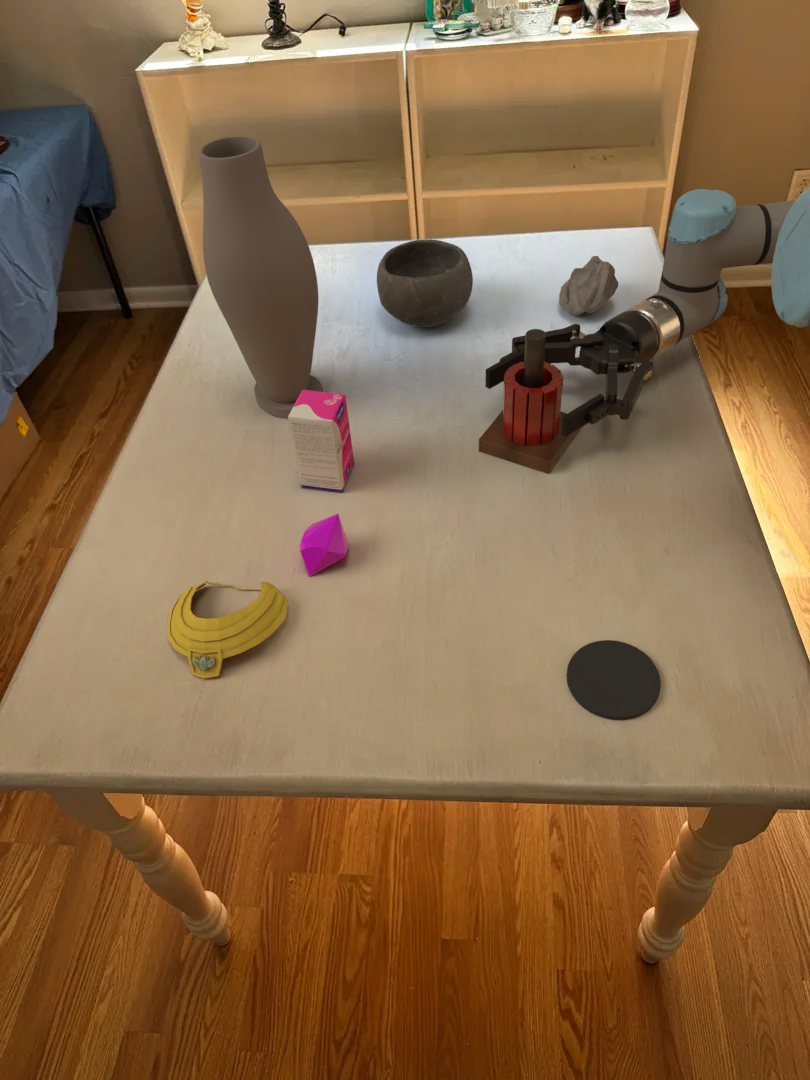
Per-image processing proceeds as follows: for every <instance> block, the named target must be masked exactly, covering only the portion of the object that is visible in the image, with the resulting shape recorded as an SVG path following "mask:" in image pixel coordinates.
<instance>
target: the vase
mask: <svg viewBox="0 0 810 1080" xmlns="http://www.w3.org/2000/svg"><path fill="white" fill-rule="evenodd" d="M262 147H263V146H262V144H261V141H260V140H259V139H258V138H256V137H254V136H251V135H250V136H249V135H227V136H223V137H218V138H216V139H213V140H211V141H208V142H206V143H205V144H203V145H201V147H200V148H199V150H198V158H199V163H200V164H199V165H200V171H201V180H202V203H203V204H202V207H203V209H202V211H203V212H202V213H203V215H202V217H203V218H202V219H203V220H202V253H203V260H204V261H203V263H204V268H205V269H204V270H205V275H206V279H207V281H208V282H207V283H208V285H209V288H210V290H211V293H212V296H213V298H214V300H215V302H216V304H217V306H218V308H219V310H220V312H221V315H222V317H223V319H224V320H225V322H226V324H227V326H228V328H229V330H230V332H231V334H232V336H233V338H234V340H235V342H236V344H237V346H238V348H239V351H240V353H241V354H242V357H243V359H244V361H245V364H246V365H247V367H248V370H249V371H250V373H251V375H252V377H253V379H254V381H255V384H254V387H253V389H254V390H253V391H254V396H255V401H256V403H257V406H258V407H259V408H260V409H261V410H263V411H264V412H265V413H267V414H269V415H271V416H273V417H278V418H283V419H288V416H289V414H290V412H291V410H292V408H293V407H294V405H295V403H296V401H297V399H298V397H299V395H300V394H301V392H302V390H310V391H319V392H324V387H323V385H322V382H320V379H318V378H317V377H315V376H314V375H312V367H313V358H314V349H315V341H316V332H317V324H318V316H319V315H318V314H319V285H318V278H317V272H316V267H315V261H314V259H313V255H312V251H311V249H310V247H309V244H308V241H307V239H306V236H305V234H304V233H303V230H302V228H301V226H300V224H299V223H298V221H297V220H296V218H295V217H294V215H293V214H292V212H291V211H290V210H289V209H288V208H287V206H286V205H285V204H284V203H283V202H282V201H281V200H280V198H279V197H278V196H277V194H276V192H275V191H274V189H273V187H272V183H271V181H270V177H269V173H268V170H267V165H266V161H265V156H264V152H263V148H262Z"/></svg>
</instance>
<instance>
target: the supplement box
mask: <svg viewBox="0 0 810 1080" xmlns="http://www.w3.org/2000/svg"><path fill="white" fill-rule="evenodd" d="M349 420H350V419H349V411H348V405H347V395H346V394H345V393H339V392H329V391H328V392H327V391H323V392H319V391H310V390H302V392H301V394H300V395H299V397H298V399H297V401H296V403H295V405H294V407H293V408H292V410H291V412H290V414H289V416H288V418H287V421H288V426H289V431H290V435H291V441H292V446H293V451H294V456H295V460H296V466H297V471H298V476H299V483H300V488H301V489H307V490H314V491H326V492H331V493H333V492H334V493H343V492H344V489H345V487H346V484H347V481H348V479H349V477H350V474H351V472H352V470H353V468H354V466H355V457H354V451H353V443H352V436H351V434H352V433H351V428H350V427H351V426H350V421H349Z"/></svg>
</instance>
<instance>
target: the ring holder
mask: <svg viewBox="0 0 810 1080" xmlns="http://www.w3.org/2000/svg"><path fill="white" fill-rule="evenodd" d="M545 332H546V331H545V330H543V329H541V328H533V329H532V328H531V329H529V330H527V331H526V332H525V335H524V336H525V356H524V378H523V386H524V387H527V388H541V387H543V374H544V359H545V344H546V333H545ZM568 413H569V412H568ZM568 413H567V412H564V411H561V410H560V421H559V431H558V433H557V434H556V436H555V437H554V439H552V440H551V441H549V442H547V443H544V444H542V445H541V444H540V443H539V445H535V446H527V445H526V444H525V445H521V444H518V443H515V442H513V440H512V441H511V440H510V439H509V438H508V437H507V436H505V434H504V432H503V409H502V410H501V411H500V412H499V414H498V415H497V416H496V417H495V418H494V420H493V421H492V423H490V425H489V426H488V427H487V429H486V430H485V431H484V432H483V434H482V435H481V436H480V437H479V438H478V451H479V452H481V453H483V454H487V455H490V456H493V457H496V458H499V459H502V460H505V461H508V462H512V463H513V464H518V465H520V466H524V467H527V468H530V469H533V470H536V471H540V472H542V473H545V474H548V475H549V474H551V472H552V471H553V470H554V468H555V466H556V465H557V463H558V462H559V460H560V459H561V457H562V456H563V454H564V453H565V452H566V450H567V449H568V447H569V446H570V445H571V443H572V442H573V440H574V439H575V437H576V436H577V434H579V432H580V430H581V428H579V429H578V430H576V431H575V432H573V433H571V434H570V435H568V436H567V437H565V436H564V435H562V434H561V432H562V421H563V416H564V415H566V414H568Z"/></svg>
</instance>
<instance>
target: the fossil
mask: <svg viewBox="0 0 810 1080" xmlns="http://www.w3.org/2000/svg"><path fill="white" fill-rule="evenodd" d="M618 287H619V281H618V279H617V278H616V269H615V267H614V266H613V265H612V264H611V263H610V262H609V261H606V260H605V261H603V260H602V259H601V258H600V257H599V255H593V256H591V258H590V259H589V260H588V261H587V263H585V264H584V265H583V267H575V268H574V269H573V270H572V271H571V275H570V277H569V279H567V280H566V281H565V282H564V283H563V285H562V286H561V287H560V290H559V291H560V292H559V296H558V297H559V298H558V299H559V302H558V303H559V304H560V306H561V307H562V308H564V309H565V310H566V311H567V312H568V313H569V314H571V315H574V316H580V315H582V314H584V312H586V313H589V314H592V313H593V312H595V311H597V310H600V309H601V308H602V307H603V306H605V305H606V304H607V303H608V302H609V300H610V299H611V298H612V297H613V296H614V294H615V293H616V291H617V289H618Z"/></svg>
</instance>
